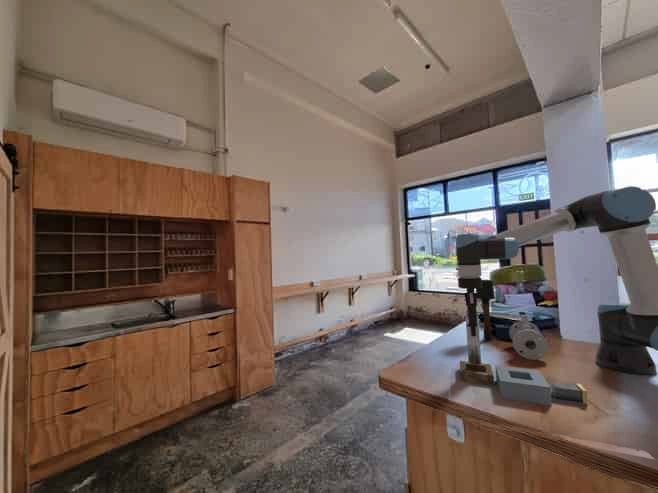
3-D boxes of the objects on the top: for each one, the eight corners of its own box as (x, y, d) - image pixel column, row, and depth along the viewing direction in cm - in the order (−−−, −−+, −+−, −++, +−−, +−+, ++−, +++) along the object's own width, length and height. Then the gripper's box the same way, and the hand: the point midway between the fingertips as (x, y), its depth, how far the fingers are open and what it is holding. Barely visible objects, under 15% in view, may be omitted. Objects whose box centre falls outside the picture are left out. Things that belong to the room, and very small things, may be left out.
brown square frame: (491, 375, 98) (490, 364, 98) (494, 388, 89) (493, 375, 89) (460, 371, 102) (459, 360, 102) (460, 383, 93) (460, 371, 93)
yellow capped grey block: (581, 399, 79) (580, 384, 80) (588, 407, 75) (586, 391, 76) (551, 395, 82) (550, 380, 83) (556, 402, 78) (555, 386, 79)
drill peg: (480, 360, 96) (477, 310, 97) (481, 365, 93) (478, 312, 94) (468, 359, 98) (465, 309, 99) (468, 363, 95) (465, 311, 95)
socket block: (572, 393, 83) (570, 373, 84) (589, 414, 72) (587, 392, 73) (496, 383, 92) (495, 365, 92) (501, 401, 81) (500, 380, 81)
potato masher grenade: (501, 342, 131) (496, 280, 132) (481, 342, 133) (477, 281, 134) (494, 337, 139) (490, 279, 141) (476, 337, 141) (472, 279, 142)
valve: (550, 362, 107) (547, 323, 107) (514, 357, 113) (511, 321, 113) (539, 344, 126) (537, 312, 127) (509, 342, 132) (506, 311, 132)
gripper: (457, 275, 106) (461, 335, 105) (457, 279, 91) (462, 349, 90) (479, 274, 103) (483, 336, 102) (483, 279, 87) (488, 352, 87)
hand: (473, 342), depth 96 cm, fingers closed on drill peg, 4 cm apart
